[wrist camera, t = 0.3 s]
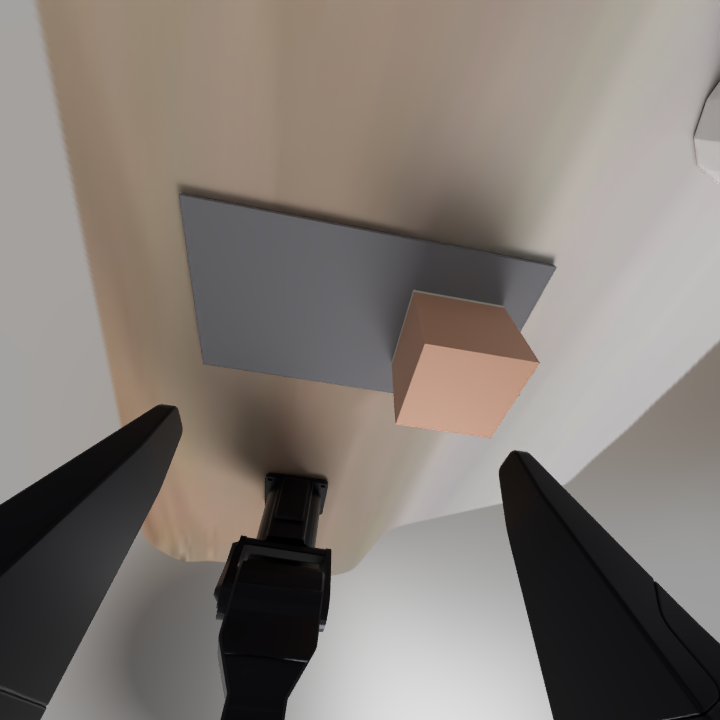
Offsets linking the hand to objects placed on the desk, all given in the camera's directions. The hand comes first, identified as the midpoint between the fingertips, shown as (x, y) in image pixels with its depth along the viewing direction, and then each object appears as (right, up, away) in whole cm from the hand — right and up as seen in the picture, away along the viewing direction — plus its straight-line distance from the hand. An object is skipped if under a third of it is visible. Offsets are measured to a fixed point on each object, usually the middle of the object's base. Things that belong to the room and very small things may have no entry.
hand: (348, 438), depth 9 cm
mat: (0, +5, +14) cm, 15 cm away
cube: (+6, +4, +14) cm, 16 cm away
